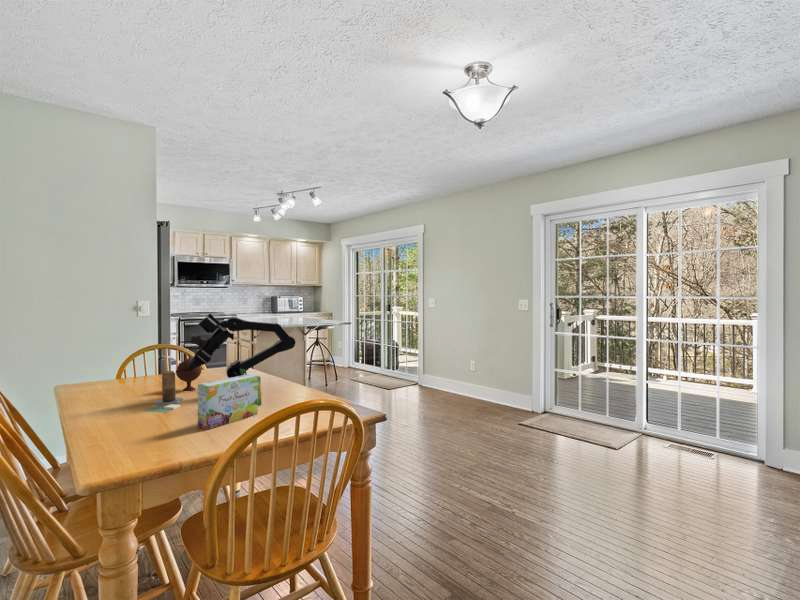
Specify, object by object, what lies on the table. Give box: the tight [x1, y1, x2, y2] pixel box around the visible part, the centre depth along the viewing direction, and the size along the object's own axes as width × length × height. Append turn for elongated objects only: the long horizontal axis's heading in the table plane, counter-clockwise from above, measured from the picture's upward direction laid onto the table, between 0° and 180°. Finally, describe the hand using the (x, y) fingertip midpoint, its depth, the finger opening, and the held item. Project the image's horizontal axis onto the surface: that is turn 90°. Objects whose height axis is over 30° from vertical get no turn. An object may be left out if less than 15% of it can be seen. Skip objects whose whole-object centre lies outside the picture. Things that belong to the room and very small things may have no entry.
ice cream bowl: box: [175, 357, 202, 392], centre depth 201 cm, size 11×11×15 cm
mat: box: [144, 404, 181, 414], centre depth 169 cm, size 10×8×1 cm
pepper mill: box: [161, 370, 176, 402], centre depth 180 cm, size 5×5×12 cm
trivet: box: [153, 396, 185, 406], centre depth 181 cm, size 11×11×1 cm
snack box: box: [197, 373, 259, 431], centre depth 154 cm, size 21×6×15 cm, turn 148°
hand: (188, 368), depth 183 cm, fingers open, 9 cm apart
